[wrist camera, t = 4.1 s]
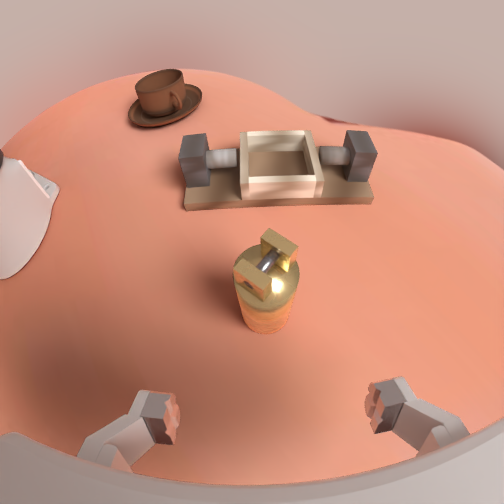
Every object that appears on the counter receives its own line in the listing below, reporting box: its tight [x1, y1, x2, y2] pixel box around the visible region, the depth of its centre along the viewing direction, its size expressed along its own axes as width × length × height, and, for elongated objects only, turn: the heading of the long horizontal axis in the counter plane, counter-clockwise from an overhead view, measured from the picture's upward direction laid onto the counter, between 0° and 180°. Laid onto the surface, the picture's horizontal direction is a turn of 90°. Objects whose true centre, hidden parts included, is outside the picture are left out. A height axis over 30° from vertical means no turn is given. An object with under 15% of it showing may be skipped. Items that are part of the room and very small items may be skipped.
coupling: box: [233, 228, 299, 334], centre depth 20 cm, size 4×4×10 cm
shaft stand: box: [178, 130, 378, 211], centre depth 29 cm, size 20×8×6 cm, turn 92°
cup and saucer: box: [128, 69, 202, 127], centre depth 37 cm, size 12×12×6 cm
